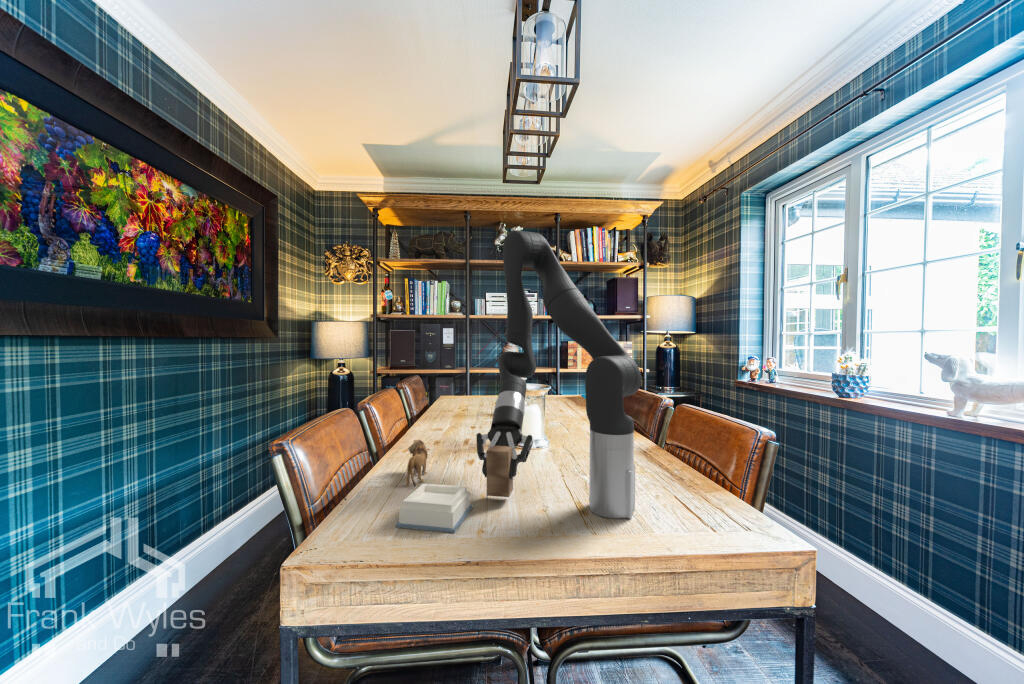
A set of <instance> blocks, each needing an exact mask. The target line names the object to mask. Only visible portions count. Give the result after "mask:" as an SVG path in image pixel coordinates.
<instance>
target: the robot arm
mask: <svg viewBox="0 0 1024 684" xmlns="http://www.w3.org/2000/svg"><path fill="white" fill-rule="evenodd" d="M502 263H503V272H504V273H503V274H504V283H505V293H506V302H507V303H506V304H507V308H506V310H507V311H506V312H507V313H506V314H507V315H506V333H505V339H506V341H507V342H508V343H509V344H512V345H515V346H518V347H520V348H521V349H522V351H523V352H522V351H521V352H519V351H510V350H507V351H503V352H502V353H501V354H500V355H499V357H498V361H497V363H498V364H497V365H498V370H499V371H498V373H499V378H500V379H499V382H500V384H499V390H498V395H497V399H496V401H495V403H494V404H495V405H494V410H493V414H492V418H491V419H492V420H491V426H490V429H489V431H488V432H487V433H485V434H482V433H481V432H478V433H476V437H475V438H476V454H477V456H478V460H480V461H483V464H482V469H481V471H482V472H481V473H482V474H483V476H484V477H485V478H486V479H487V450H488V449H489V448H490V447H491V446H495V445H501V446H509V447H512V454H511V456H512V460H511V462H510V469H509V478H510V479H513V480H514V478H516V476H517V471H518V464H519V463H526V462H527V460H528V457H529V454H530V452H531V450H532V447H533V444H534V439H533V436H532V434H528V435H524V434H523V433H522V432H523V425H524V424H523V423H524V416H525V408H526V407H525V406H526V405H525V401H526V395H527V394H526V393H527V382H526V381H525V379H529V378H532V377H533V375H534V374H535V373H536V370H537V364H536V358H535V354H534V349H533V340H532V335H533V333H532V332H533V321H534V319H533V309H532V305H531V303H530V301H529V299H528V295H527V293H526V291H525V288H524V284H523V268H531V269H533V270H534V272H536V274H537V275H538V278H539V279H540V281H541V282H542V284H543V286H542V287H543V290H542V302H543V306H544V308H545V310H546V311H547V314H548V315H549V316H550V318H551V319H552V321H553V323H554V324H555V325H556V327H557V328H558V330H560V331H561V332H562V333H563V334H564V335H566V337H568V338H569V339H571V340H572V341H573V342H574V343H577V345H579V346H580V347H581V348H582V349H583V350H585V351H586V352H587V353H588V355H589V356H590V358H591V359H592V360H591V361H590V362H589V364H588V365H587V366H586V367H587V368H586V372H585V377H584V389H585V390H584V391H585V392H584V393H585V410H586V416H587V419H588V421H589V483H588V484H589V485H588V486H589V487H588V488H589V491H588V492H589V497H588V500H589V503H588V504H589V510H590V511H591V512H592V513H593V514H595V515H597V516H601V517H604V518H608V519H632V516H633V514H634V511H635V509H636V465H635V464H634V454H635V452H634V451H635V449H634V447H635V446H634V445H635V439H634V438H635V421H634V419H633V417H632V416H630V415H627V414H626V412H625V409H624V408H625V407H624V398H627V397H630V396H632V395H634V394H636V393H637V392H638V391H639V389H640V388H641V385H642V373H641V369H640V368H639V365H638V364H637V362H636V361H635V360H634V359H633V357H632V356H631V355H630V354H629V353H628V352H627V351H626V350H625V349H624V347H622V345H620V344H619V342H618V341H617V340H616V339H615V338H614V337H613V336H612V334H611V333H610V332H609V330H608V329H607V328H606V326H605V325H604V323H603V322H602V321H601V320H602V319H600V318H599V317H598V315H597V314H596V312H595V311H594V309H593V308H592V307H591V305H590V304H589V302H588V300H587V299H586V298H585V297H584V295H583V294H582V292H581V291H580V290H579V289H578V287H577V286H576V284H575V283H573V281H572V279H571V278H570V276H569V275H568V273H567V272H566V270H565V269H564V267H563V266H562V265H561V263H560V262H559V260H558V258H557V255H555V253H554V250H553V249H552V247H551V245H550V244H549V241H548V240H547V239H546V238H545V237H544V236H543V235H542V234H541V233H539V232H534V231H525V230H524V231H523V230H518V229H517V230H511V231H510V232H508V233H507V235H506V237H505V238H504V240H503V246H502ZM487 440H489V442H490V443H489V445H488V448H487V450H486V451H485V448H484V445H486V443H487ZM521 442H522V444H523V446H522V448H521V451H520V453H519V454H517V451H516V447H517V446H518V445H519V444H520V443H521Z"/></svg>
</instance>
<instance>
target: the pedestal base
mask: <svg viewBox="0 0 1024 684" xmlns="http://www.w3.org/2000/svg"><path fill="white" fill-rule="evenodd" d="M470 498H471V495H470V491H468V487H467V486H463V485H461V486H460V485H450V484H449V485H448V484H435V483H424V482H422V484H421V485H420V486H418V487H417V488H416V489H415V490H414V491H413V492H412V493H411V494H409V495H408V496H407V497H406V498H405V499H403V500H402V505H401V506H400V507H399V512H398V513H399V514H398V516H399V520H398V521H397V522H396V524H395V528H400V527H401V528H400V529H402V528H403V529H409V530H410V529H412V530H421V531H432V532H440V533H441V532H442V533H453V534H455V533H456V531H457V530H458V529H459V527H460V526H461V525H462V524H463V522H464V521H465V519H466V518H467V516H468V515H469V514H470V512H471V510H472V509H473V507H474V506H473V505H474V504H472V503H471V502H470V500H471V499H470ZM470 503H471V504H470Z"/></svg>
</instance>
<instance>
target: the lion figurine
mask: <svg viewBox="0 0 1024 684" xmlns="http://www.w3.org/2000/svg"><path fill="white" fill-rule="evenodd" d="M407 449H408V452H409V453H410V454H411V455H412V456H411V457H410V458H409V460H408V463H407V467H406V468H407V471H406V478H405V480H406V484H405V486H406V487H409V486H411V483H412V486H413V487H417V484H416V482H415V479H414V476H413V475H416V476H417V479H418V483H424V482H425V480H424V479H423V478H422V474H426V475H427V472H426V469H427V459H428V449H427V446H426V445H425V443H424V441H423V440H421V439H414V440H413V442H412V444H411V445H410V446H409V447H407ZM410 481H411V482H410Z"/></svg>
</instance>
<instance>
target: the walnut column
mask: <svg viewBox="0 0 1024 684" xmlns="http://www.w3.org/2000/svg"><path fill="white" fill-rule="evenodd" d="M486 451H487V478H486V497H501V498H509V497H510V496H511V494H512V492H513V490H514V478H513V479H510V478H509V469H510V462H511V460H512V456H511V454H512V447H509V446H501V445H495V446H491V447H490V448H489V449H488V448H487V449H486Z"/></svg>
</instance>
